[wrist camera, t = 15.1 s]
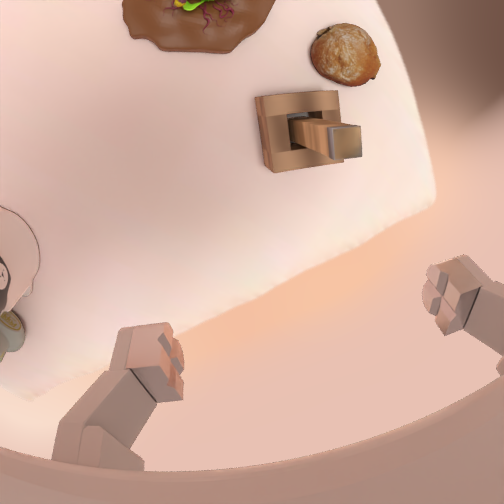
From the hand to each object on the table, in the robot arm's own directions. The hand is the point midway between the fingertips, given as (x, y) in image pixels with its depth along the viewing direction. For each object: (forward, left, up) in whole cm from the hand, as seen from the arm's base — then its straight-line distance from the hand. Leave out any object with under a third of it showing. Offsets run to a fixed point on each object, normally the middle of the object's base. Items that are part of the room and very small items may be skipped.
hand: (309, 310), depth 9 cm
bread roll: (+21, +11, -36) cm, 43 cm away
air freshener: (-48, -20, -36) cm, 64 cm away
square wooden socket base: (+12, +1, -36) cm, 37 cm away
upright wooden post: (+12, +1, -36) cm, 37 cm away
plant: (+2, +23, -36) cm, 43 cm away
